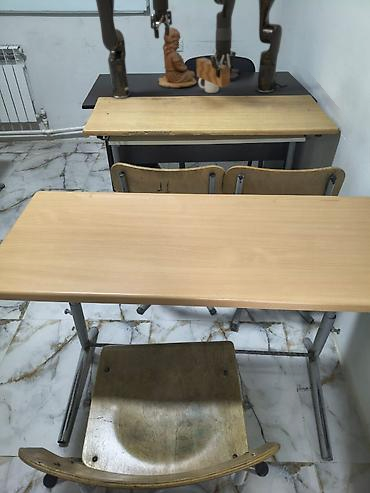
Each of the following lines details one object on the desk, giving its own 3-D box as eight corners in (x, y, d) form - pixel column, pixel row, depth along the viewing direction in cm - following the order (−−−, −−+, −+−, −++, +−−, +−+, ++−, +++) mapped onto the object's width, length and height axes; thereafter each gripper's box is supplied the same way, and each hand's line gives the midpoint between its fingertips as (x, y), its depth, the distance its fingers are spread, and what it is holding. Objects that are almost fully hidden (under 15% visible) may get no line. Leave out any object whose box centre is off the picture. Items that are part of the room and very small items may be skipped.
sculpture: (197, 88, 213) (196, 30, 194) (156, 89, 214) (152, 31, 194) (196, 75, 234) (196, 22, 215) (159, 76, 235) (156, 23, 215)
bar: (196, 76, 195) (196, 59, 190) (203, 74, 197) (203, 57, 191) (221, 87, 180) (222, 69, 174) (229, 85, 181) (230, 67, 176)
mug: (199, 94, 205) (199, 75, 198) (197, 89, 211) (197, 71, 204) (220, 92, 206) (220, 73, 199) (217, 88, 212) (217, 69, 205)
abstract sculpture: (206, 66, 216) (199, 58, 231) (206, 82, 222) (199, 74, 237) (246, 63, 219) (237, 56, 234) (245, 79, 224) (236, 71, 240)
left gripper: (157, -1, 163) (159, 40, 174) (175, -4, 172) (176, 35, 183) (144, -1, 167) (147, 38, 177) (162, -5, 175) (164, 33, 186)
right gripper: (215, 41, 163) (215, 80, 175) (240, 36, 168) (238, 75, 180) (206, 38, 168) (206, 77, 180) (231, 34, 173) (229, 72, 185)
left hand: (162, 36), depth 180 cm, fingers open, 8 cm apart
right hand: (222, 76), depth 180 cm, fingers closed on bar, 4 cm apart
